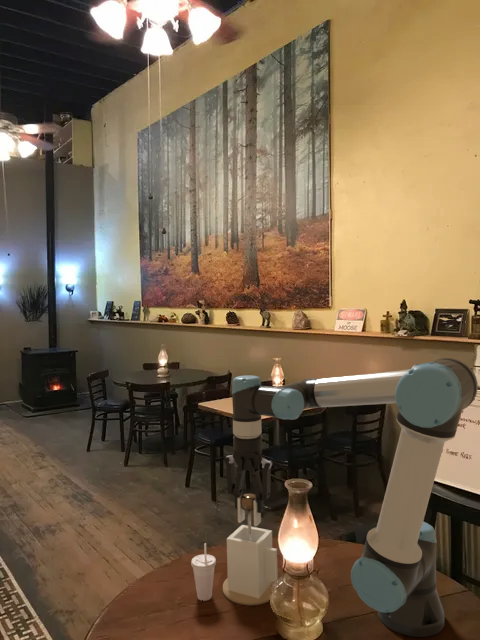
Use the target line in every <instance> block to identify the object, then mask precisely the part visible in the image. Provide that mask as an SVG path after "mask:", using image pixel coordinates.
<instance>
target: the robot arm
mask: <svg viewBox="0 0 480 640" xmlns="http://www.w3.org/2000/svg"><path fill="white" fill-rule="evenodd" d="M231 385H232V386H231V387H232V388H231V401H232V434H233V437H232V439H233V450H234V451H233V453H232V455H231V454H229V455H226V456H225V457H223V462H224V464H225V466H226V482H227V483H226V486H227V493H228V495H232V496H234V508H235V509H236V510H237V523H238V524H241V523H242V522H243V521H245V519H246V511H245V510H243V509H242V505H241V496H242V495H243V494H244V491H243V487H244V484H245V483H244V482H245V477H246V471H248V472H249V475H250V476H251V481H252V485H253V491H254V495H255V496H256V500H254V501H253V504H254V510H253V527H258V526H259V524H261V522H262V513H263V511H264V501H266V500H268V499H269V498H270V496H271V484H272V483H271V478H272V477H271V470H272V467H273V464H274V462H273V460H271V459H270V460H268V459H266V458H265V457H264V454H263V452H262V451H263V437H262V435H261V434H262V416H264V417H270V418H277V419H281V420H291V421H292V420H297V419H298V418H299V417H300V416H301V415H302V413H303V411H305V410H309V409H319V408H327V407H328V408H332V407H348V406H349V407H350V406H364V405H365V406H367V405H368V406H369V405H384V404H385V405H386V404H396V406H397V408H398V410H397V415H396V420H395V421H396V423H398V425H399V427H400V429H401V430H400V433H399V437H398V442H397V446H396V450H395V453H394V458H393V461H392V465H391V470H390V473H389V478H388V482H387V485H386V490H385V493H384V496H383V497H384V498H383V501H382V505H381V510H380V513H379V517H378V520H377V525H376V527H374V528H371V529H370V530H368V532H367V535H366V538H365V542H364V546H363V550H362V554H361V556H360V557H359V558H358V559H356V561H354V564H353V565H352V567H351V571H350V580H351V584H352V587H353V589H354V590H355V592H356V593H357V595H358V597H359V599H361V601H362V602H363V603H364V604H366V605H367V606H368V607H370V608H371V609H373V610H375V611H377V616H378V618H379V619H380V621H381V622H382V623H383V625H385V626H386V627H387V628H388V629H390V630H392V631H394V632H396V633H398V634H401V635H404V636H409V637H414V638H427V637H431V636H432V637H433V636H436V635H438V634H439V633H440V632H442V630H443V628H445V612H444V611H445V610H444V608H443V605H442V604H443V603H442V602H441V598H440V596H439V593H438V590H437V541H438V540H437V538H436V535H437V534H436V530H435V528H434V527H433V526H432V525H431V524H429V523H427V522H426V521H424V520H425V517H426V512H427V508H428V505H429V500H430V498H431V493H432V490H433V487H434V482H435V479H436V476H437V471H438V467H439V464H440V461H441V457H442V453H443V449H444V446H445V443H446V442H448V441H450V440H453V439H454V438H455V437H456V433H457V429H458V427H459V422H460V418H461V416H462V413H463V410H465V409H466V408H468V407H469V406H470V405H471V404H473V402H474V401H475V399H476V396H477V394H478V390H479V389H478V385H479V384H478V379H477V376H476V374H475V372H474V371H473V369H471V367H470V366H468V364H467V363H465V362H463V361H461V360H458V359H456V358H452V357H444V358H443V357H442V358H438V359H435V360H432V361H430V362H424V363H423V362H422V363H416V364H414V365H413V366H411V368H409V369H401V370H393V371H391V370H390V371H382V372H372V373H371V372H370V373H362V374H353V375H351V374H350V375H343V376H333V377H324V378H323V377H321V378H305V379H303V380H300V381H296V382H292V383H288V384H284V385H279V386H269V385H268V386H267V385H262V382H261V377H260V376H257V375H239V376H235V377H234V378H233V380H232V384H231ZM235 463H236V464H237V468H236V467H235ZM261 464H262V466H261V467H262V480H261V474H260V471H261V469H260V465H261ZM235 468H236V469H235ZM235 471H236V472H235Z"/></svg>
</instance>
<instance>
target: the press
mask: <svg viewBox="0 0 480 640" xmlns="http://www.w3.org/2000/svg"><path fill="white" fill-rule="evenodd" d="M251 538H252V542H251V541H248V525H245V524H241V525H240V526H239V527H237V529H236V530H234V531H233V533H231V534H230V535H229V536H228V537H227V538H226V558H227V559H226V560H227V562H226V563H227V567H226V569H227V578H226V579H225V580H224V581H223V584H222V593H223V595H224V597H225V598H227V600H228V601H231V602H233V603H235V604H238V605H242V606H243V605H244V606H258V605H262V604H266V603H269V602H270V601H269V591H270V588H271V585H272V584H273V582H274V581H276V580H277V581H278V578H279V577H278V548H274V547H273V530H270V529H265V528H260V527H257V526H251Z"/></svg>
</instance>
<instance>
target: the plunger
mask: <svg viewBox="0 0 480 640" xmlns="http://www.w3.org/2000/svg"><path fill="white" fill-rule="evenodd" d="M241 495H242V496H241V505H242V509H243V510H245V512H246V511H247V526H248V541H251V542H252V538H251V527H252V511H254V504H253V501H254V500H256V496H255V493H245V494H244V493H243V494H241Z"/></svg>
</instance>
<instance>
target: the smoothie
mask: <svg viewBox="0 0 480 640" xmlns="http://www.w3.org/2000/svg"><path fill="white" fill-rule="evenodd" d="M203 546H204V547H203V548H204V550H203V553H204V554H198V555H195V556H194V557H193V558H192V559H191V560H190V561H191V567H192V569H193V570H192V571H193V578H194V583H195V590H196V596H197V597H198V598H197V600H199V601H202V600H203V601H202V602H205V601H209V600H211V599H212V596H213V587H214V586H213V585H214V575H215V566H216V565H217V561H216V557H215V556H214V555H211V554H207V553H208V552H207V543H206V542H205V543H204V544H203Z"/></svg>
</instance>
